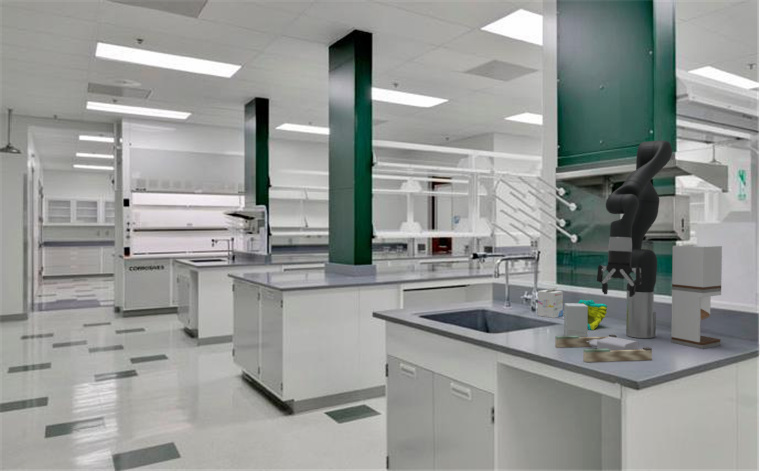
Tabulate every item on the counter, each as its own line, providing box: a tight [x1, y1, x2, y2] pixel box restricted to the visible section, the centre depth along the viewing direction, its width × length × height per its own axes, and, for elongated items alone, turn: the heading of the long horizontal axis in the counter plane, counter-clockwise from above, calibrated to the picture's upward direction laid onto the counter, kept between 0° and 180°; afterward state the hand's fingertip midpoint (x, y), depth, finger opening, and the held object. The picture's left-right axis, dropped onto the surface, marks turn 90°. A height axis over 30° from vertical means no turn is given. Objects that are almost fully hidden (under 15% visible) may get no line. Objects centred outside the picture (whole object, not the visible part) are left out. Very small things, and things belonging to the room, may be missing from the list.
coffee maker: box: [670, 244, 723, 350], centre depth 179 cm, size 11×11×35 cm
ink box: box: [537, 286, 564, 319], centre depth 234 cm, size 9×8×13 cm
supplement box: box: [563, 302, 589, 337], centre depth 188 cm, size 7×7×13 cm
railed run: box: [554, 334, 653, 363], centre depth 166 cm, size 22×20×4 cm
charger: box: [586, 336, 639, 350], centre depth 167 cm, size 5×9×15 cm
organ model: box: [577, 299, 608, 331], centre depth 209 cm, size 15×12×13 cm
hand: (618, 295), depth 179 cm, fingers open, 8 cm apart
